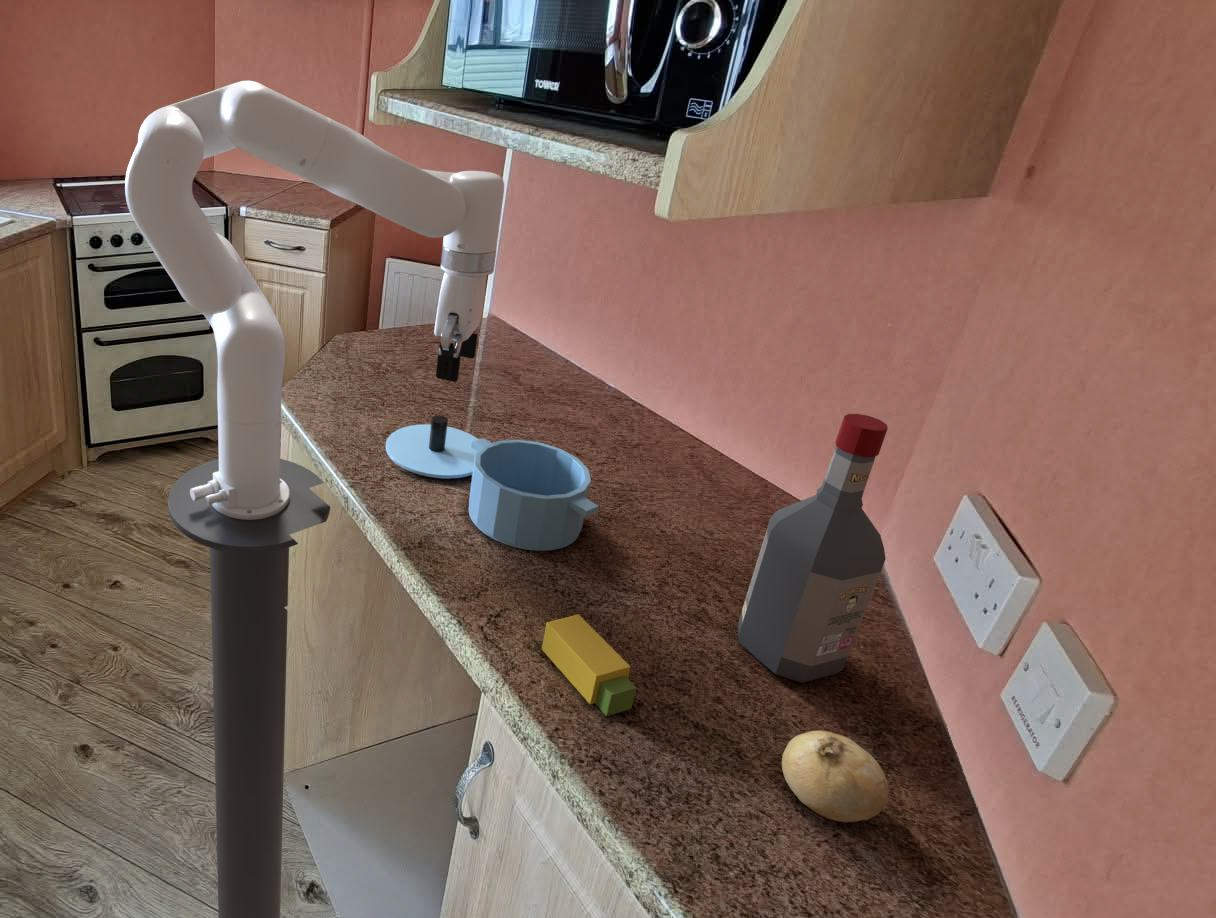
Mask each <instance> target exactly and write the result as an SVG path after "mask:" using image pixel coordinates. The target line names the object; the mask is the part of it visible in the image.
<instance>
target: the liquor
mask: <svg viewBox="0 0 1216 918" xmlns="http://www.w3.org/2000/svg"><path fill="white" fill-rule="evenodd" d="M888 428H889V427H888V424H887V423H885V422H884V421H883V420H881V419H879V418H876V417H873V416H870V415H866V414H860V413H848V414H846V415H844V416H843V418H842V420H841V424H840V427H839V429H838V433H837V436H836V438H835V448H834V451H833V453H832V456H831V459H830V462H829V465H828V468H827V471H826V473H825V477H824V479H823V481H822V484H821V485H820V487H819V488H817V489H816V493H815V495H812V496H810V497H807V498H804V499H802V500H799V501H797V502H794V503H792V504H789V505H787V506H784V507H782V508H780V509H777V510H776V511H775V513H773V514H772V515H771V516H770V518H769V521H768V525H767V527H766V530H765V531H766V532H765V534H764V538H763V541H762V544H761V546H760V547H761V548H760V549H759V554H758V557H757V560H756V563H755V567H754V570H753V573H752V576H751V579H750V582H749V586H748V588H747V592H746V596H745V599H744V601H743V606H742V608H741V612H740V615H739V618H738V622H737V638H738V640H739V644H740V645H741V646H742V647H743V648H744V649H745V650H747V651H748V652H749V653H750V654H752V656H753V657H755V658H756V659H757V660H758V661H759V662H760V663H762V664H763V665H764V666H765V667H766V668H767V669H768V670H769V671H771V672H772V673H773V674H774V675H776V676H779V677H782V678H785V679H788V680H792V681H794V682H797V683H800V684H804V683H807V682H810V681H814V680H817V679H822V678H826V677H830V676H833V675H836V674H838V673H840V672H841V671H843V670H844V669H845V666H846V664H847V661H848V658H849V655H850V653H851V651H852V648H853V645H854V643H855V640H856V637H857V635H858V632H859V630H860V627H861V624H862V622H863V620H864V616H865V614H866V612H867V609H868V606H869V604H870V601H871V600H872V599H871V598H872V596H873V594H874V590H875V589H876V587H877V583H878V580H879V577H880V575H881V572H882V570H883V567H884V565H885V563H886V551H885V545H884V542H883V538H882V535H881V533H880V532H879V531H878V529H877V527H876V526H875V525H874V523H873V522H872V521H871V519H870V518H869V516H868V515H867V514H866V512H865V511H864V509H863V506H864V504H863V495H864V493H865V489H866V487H867V484H868V481H869V478H870V474H871V472H872V469H873V466H874V463H875V460H876V457H877V456H879V455H880V452H881V449H882V447H883V443H884V441H885V438H886V435H887V432H888V430H889V429H888Z"/></svg>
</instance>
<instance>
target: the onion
mask: <svg viewBox="0 0 1216 918" xmlns="http://www.w3.org/2000/svg"><path fill="white" fill-rule="evenodd" d="M781 768H782V774H783V777H784V780H785V782H786V784H787V785H788V787H789V788H790V790H791V791H792V793H793V794H794V795H795V796H796V797H797V798H798V800H799V801H800V802H801V803H802V804H803V805H805V806H806V807H808V808H809V809H810V810H811V811H813V812H815V813H816V814H818V815H820V816H821V817H824V818H826V819H828V820H831V821H834V822H840V823H846V824H848V822H849V823H858V822H860V821H868V820H870V819H871V818H873V817H875V816H877V815H878V814H879V813H880V812H882V811H883V809H885V806H886V805H887V802H888V799H889V791H890V790H889V789H890V788H889V783H888V780H887V777H886V774H885V772H884V770H883V769H882V767H881V765H880V764H879V763H878V761H877V760H876V759H875V757H873V756H872V755H871V754H870V753H869V752H868V751H867V750H866V749H864V748H863V747H861V746H860V745H859V744H857V743H856V742H855V741H853V739H850V738H848V737H846V736H844V735H841V734H838V733H835V732H831V731H827V730H811V731H805V732H803V733H800V734H798V735H796V736H794V737H793V738H791V739H790V740H789V742H788V743H787V744H786V746H785V749H784V751H783V753H782V758H781Z"/></svg>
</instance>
